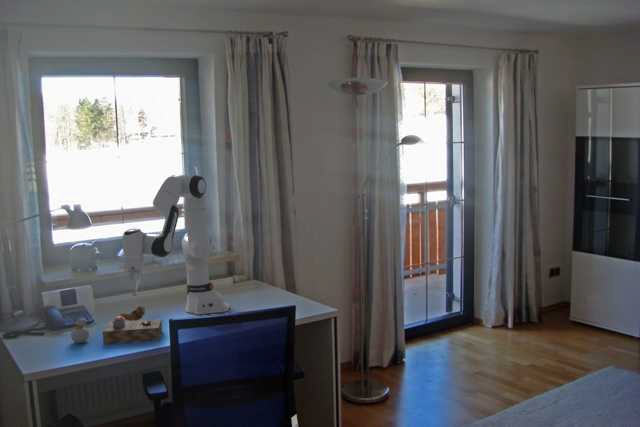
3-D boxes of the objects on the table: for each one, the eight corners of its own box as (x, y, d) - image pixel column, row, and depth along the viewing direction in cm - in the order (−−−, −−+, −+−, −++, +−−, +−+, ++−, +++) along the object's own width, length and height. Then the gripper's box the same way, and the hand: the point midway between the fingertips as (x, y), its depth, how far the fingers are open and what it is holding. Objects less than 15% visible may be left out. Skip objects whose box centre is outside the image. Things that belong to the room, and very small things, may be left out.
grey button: (152, 332, 303) (151, 320, 302) (151, 335, 298) (150, 323, 298) (142, 332, 302) (141, 321, 301) (141, 335, 298) (140, 323, 297)
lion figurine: (144, 322, 324) (143, 304, 322) (146, 324, 319) (145, 306, 318) (113, 326, 317) (112, 308, 316) (115, 329, 312) (114, 311, 311)
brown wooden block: (162, 331, 308) (161, 318, 307) (159, 340, 294) (158, 327, 294) (109, 334, 305) (108, 322, 304) (103, 344, 291) (102, 331, 290)
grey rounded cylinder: (125, 327, 301) (124, 315, 300) (123, 330, 296) (122, 318, 296) (115, 327, 300) (114, 316, 299) (113, 330, 296) (112, 318, 295)
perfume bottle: (81, 338, 300) (79, 313, 299) (96, 341, 296) (94, 315, 294) (68, 343, 294) (65, 317, 292) (83, 346, 289) (81, 320, 288)
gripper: (138, 269, 285) (139, 300, 287) (143, 260, 305) (144, 289, 307) (123, 270, 284) (124, 301, 286) (129, 261, 304) (130, 290, 306)
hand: (135, 295), depth 297 cm, fingers closed
